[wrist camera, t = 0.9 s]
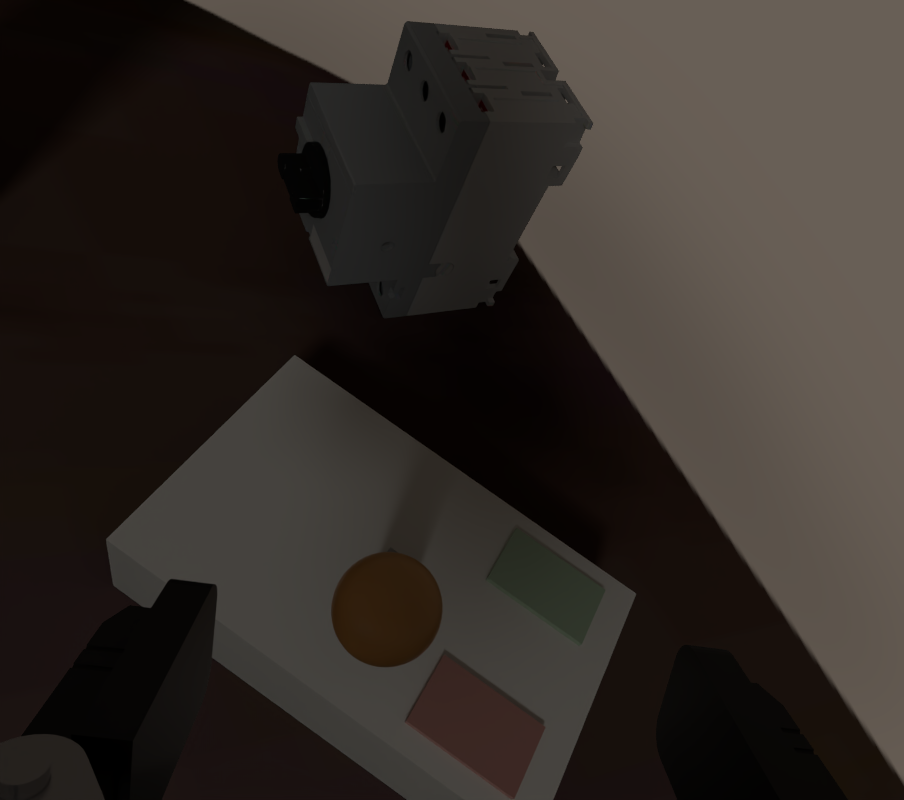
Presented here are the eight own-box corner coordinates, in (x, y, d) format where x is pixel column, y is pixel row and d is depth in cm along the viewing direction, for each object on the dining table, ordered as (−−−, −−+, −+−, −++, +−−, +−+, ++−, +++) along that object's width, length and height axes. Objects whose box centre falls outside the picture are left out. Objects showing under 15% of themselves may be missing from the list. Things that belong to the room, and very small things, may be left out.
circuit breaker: (255, 235, 46) (287, 10, 34) (452, 224, 52) (537, 32, 41) (287, 329, 43) (336, 119, 31) (492, 305, 49) (597, 123, 38)
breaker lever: (354, 578, 31) (300, 631, 16) (390, 526, 31) (371, 530, 16) (405, 614, 30) (399, 703, 15) (440, 561, 31) (468, 599, 16)
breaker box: (113, 585, 32) (105, 536, 28) (279, 412, 40) (295, 351, 35) (481, 854, 31) (536, 849, 27) (583, 626, 39) (639, 591, 34)
